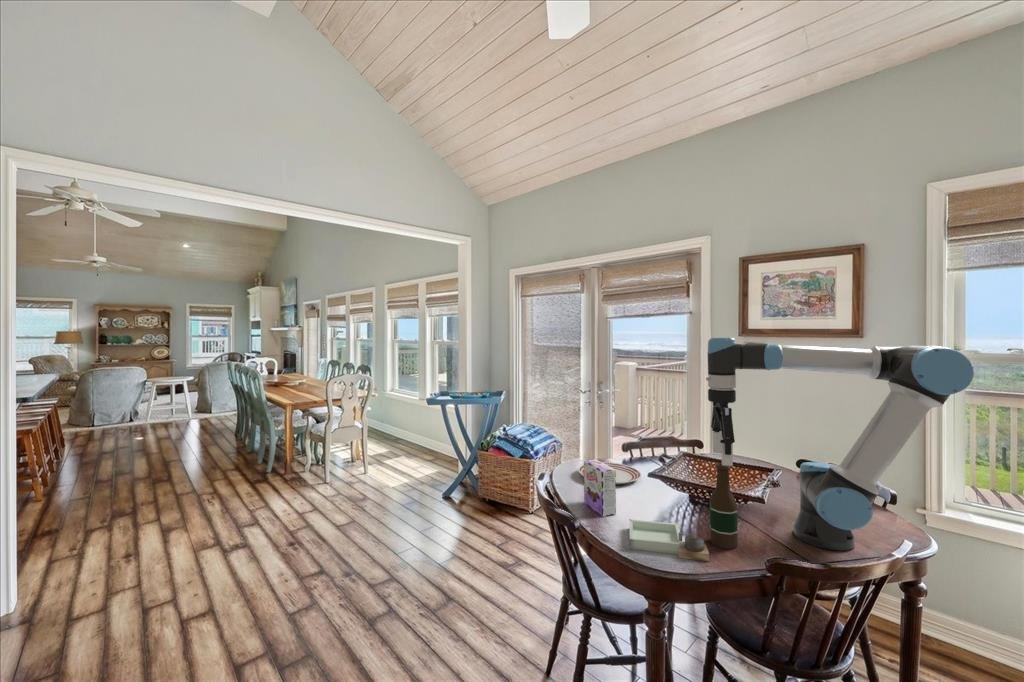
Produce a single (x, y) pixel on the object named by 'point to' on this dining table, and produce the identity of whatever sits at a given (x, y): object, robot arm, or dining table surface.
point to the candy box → (600, 487)
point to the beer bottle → (723, 512)
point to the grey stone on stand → (693, 548)
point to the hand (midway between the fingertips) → (722, 458)
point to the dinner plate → (620, 472)
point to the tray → (654, 536)
